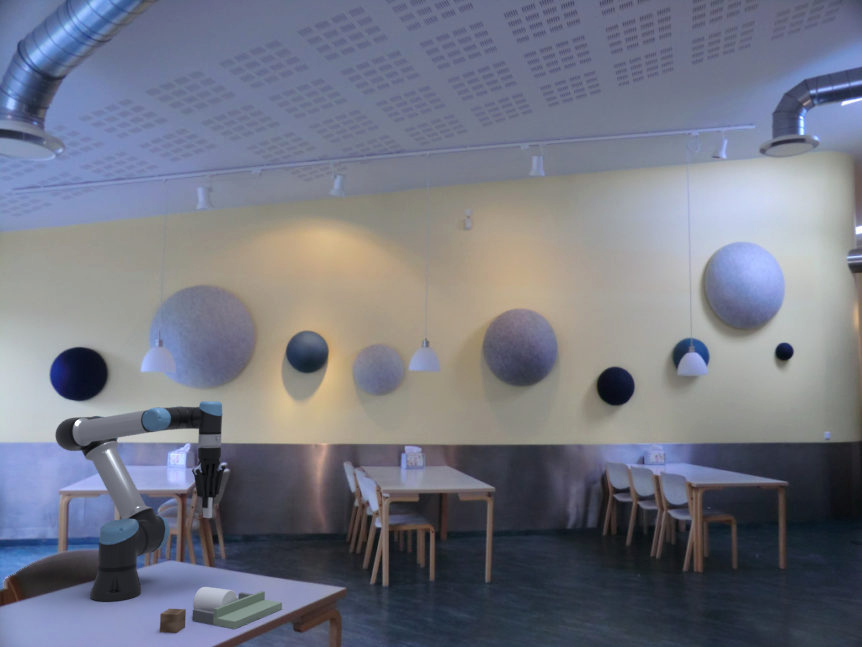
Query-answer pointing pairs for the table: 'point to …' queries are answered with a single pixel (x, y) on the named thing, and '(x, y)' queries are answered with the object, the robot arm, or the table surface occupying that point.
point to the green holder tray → (238, 611)
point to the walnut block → (172, 620)
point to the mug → (213, 598)
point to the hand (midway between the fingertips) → (207, 517)
